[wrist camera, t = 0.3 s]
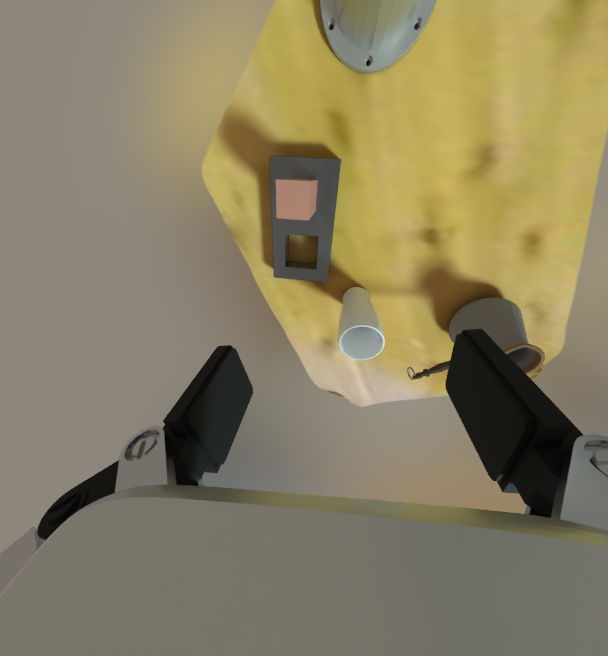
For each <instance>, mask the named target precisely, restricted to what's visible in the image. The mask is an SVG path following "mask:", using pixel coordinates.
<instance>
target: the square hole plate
mask: <svg viewBox="0 0 608 656" xmlns="http://www.w3.org/2000/svg"><path fill="white" fill-rule="evenodd" d="M340 164H341V159H323V158H302V157H281V156H270V181H271V209H272V238H273V267H274V277H276V278H286V279H297V280H307V281H318V282H327V281H328V273H329V264H330V255H331V246H332V237H333V228H334V219H335V210H336V201H337V191H338V182H339V173H340ZM290 178H291V179H309V180H318V183H317V198H316V211H315V213H314V214H313V215H312V217H311V218H310V220H309V221H308V220H294V219H280V218H277V214H276V179H290ZM289 234H293V235H306V236H318V237H319V241H318V254H317V264H310V263H299V262H289Z"/></svg>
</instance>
